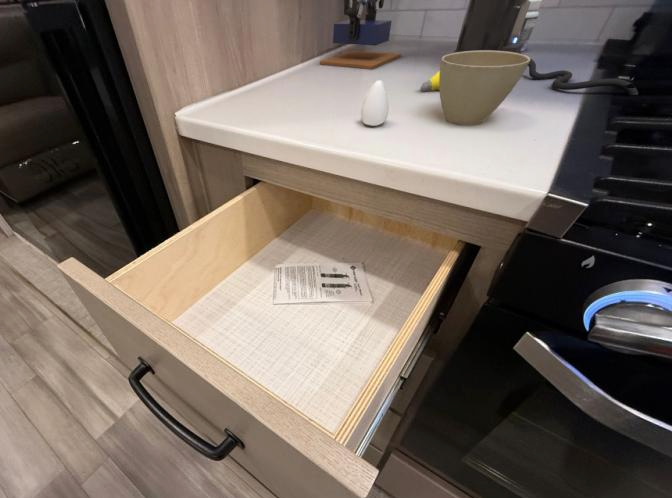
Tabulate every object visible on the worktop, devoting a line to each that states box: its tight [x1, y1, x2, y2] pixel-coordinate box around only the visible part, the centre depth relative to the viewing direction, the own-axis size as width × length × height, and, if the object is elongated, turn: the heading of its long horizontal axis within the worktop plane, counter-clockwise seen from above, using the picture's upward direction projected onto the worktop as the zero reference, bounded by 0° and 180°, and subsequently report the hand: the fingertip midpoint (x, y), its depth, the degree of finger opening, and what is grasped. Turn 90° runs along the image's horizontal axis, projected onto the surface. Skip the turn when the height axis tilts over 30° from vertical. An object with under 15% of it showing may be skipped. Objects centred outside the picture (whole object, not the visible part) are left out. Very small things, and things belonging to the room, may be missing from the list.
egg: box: [360, 79, 390, 127], centre depth 45 cm, size 4×4×6 cm
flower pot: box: [439, 50, 531, 126], centre depth 43 cm, size 10×10×7 cm
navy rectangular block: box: [332, 19, 392, 47], centre depth 72 cm, size 11×6×4 cm, turn 49°
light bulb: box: [420, 69, 440, 93], centre depth 55 cm, size 3×6×4 cm, turn 95°
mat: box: [319, 50, 402, 70], centre depth 76 cm, size 14×13×1 cm
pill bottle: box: [516, 0, 543, 53], centre depth 69 cm, size 5×5×8 cm
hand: (361, 37), depth 73 cm, fingers closed on navy rectangular block, 6 cm apart
